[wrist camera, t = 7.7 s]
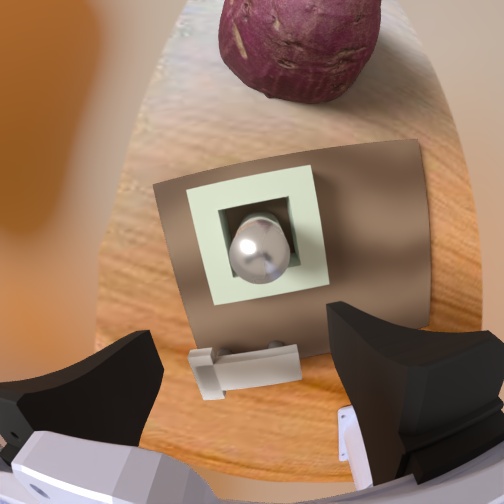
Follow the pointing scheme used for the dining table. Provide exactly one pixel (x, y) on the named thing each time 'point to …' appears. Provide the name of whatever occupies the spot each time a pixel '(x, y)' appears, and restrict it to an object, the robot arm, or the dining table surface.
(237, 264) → the pin
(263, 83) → the vegetable
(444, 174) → the dining table surface
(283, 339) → the board
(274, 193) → the square hollow frame
